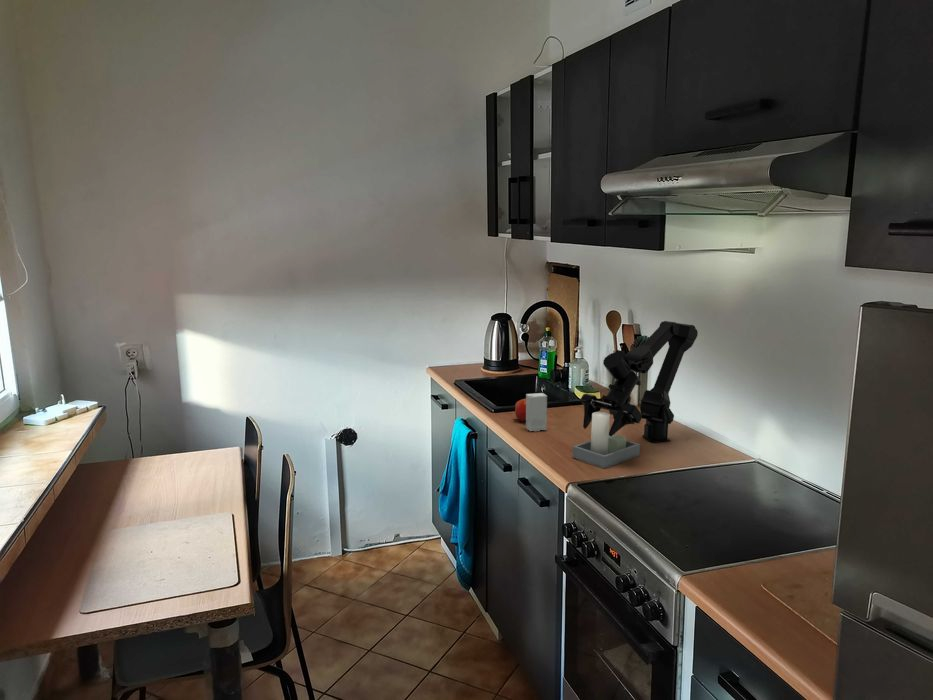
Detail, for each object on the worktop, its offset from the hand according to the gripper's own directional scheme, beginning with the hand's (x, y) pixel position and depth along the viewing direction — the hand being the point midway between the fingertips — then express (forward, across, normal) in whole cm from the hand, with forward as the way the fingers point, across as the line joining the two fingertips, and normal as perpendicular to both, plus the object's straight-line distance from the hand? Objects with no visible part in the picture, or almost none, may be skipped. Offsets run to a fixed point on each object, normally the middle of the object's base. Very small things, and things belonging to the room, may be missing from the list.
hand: (596, 431), depth 197 cm
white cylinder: (+5, 0, -7) cm, 8 cm away
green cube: (-1, 0, -12) cm, 12 cm away
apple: (-3, +40, -15) cm, 43 cm away
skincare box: (0, +32, -12) cm, 34 cm away
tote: (+3, 0, -10) cm, 10 cm away
